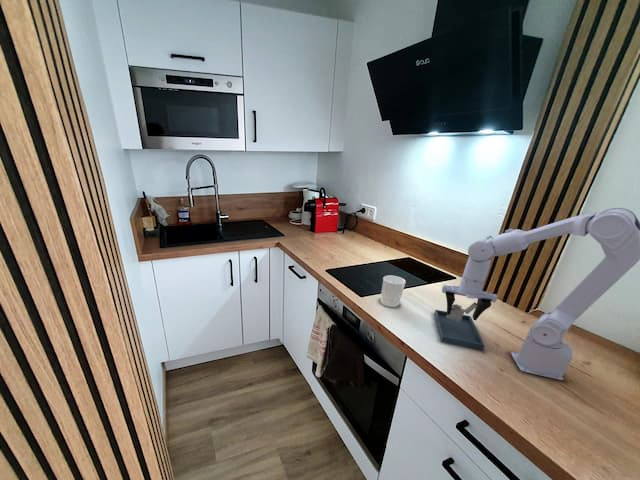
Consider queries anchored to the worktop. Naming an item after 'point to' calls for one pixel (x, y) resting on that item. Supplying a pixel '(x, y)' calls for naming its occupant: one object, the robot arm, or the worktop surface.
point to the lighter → (460, 312)
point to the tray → (458, 331)
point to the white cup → (392, 290)
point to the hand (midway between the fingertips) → (460, 315)
